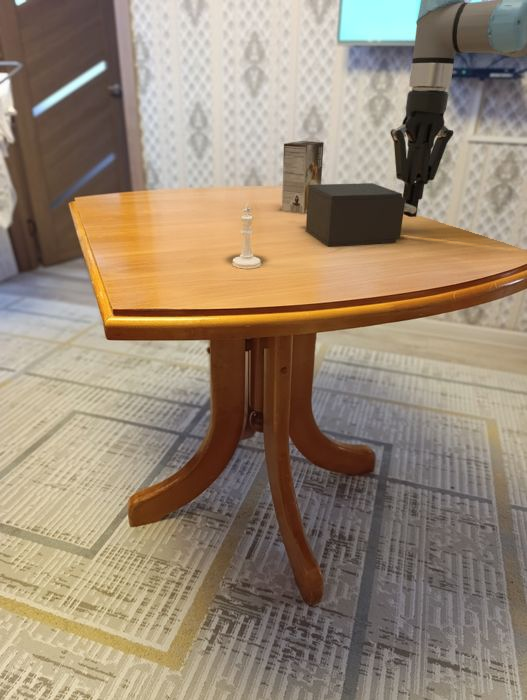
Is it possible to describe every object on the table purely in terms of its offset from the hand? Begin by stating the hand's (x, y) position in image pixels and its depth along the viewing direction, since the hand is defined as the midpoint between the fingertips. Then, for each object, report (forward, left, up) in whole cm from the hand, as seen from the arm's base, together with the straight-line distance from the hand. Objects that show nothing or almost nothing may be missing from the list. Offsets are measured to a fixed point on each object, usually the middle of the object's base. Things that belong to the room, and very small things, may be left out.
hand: (409, 215), depth 107 cm
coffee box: (+28, -9, -4) cm, 30 cm away
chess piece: (+21, +36, -4) cm, 42 cm away
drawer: (+7, +6, -3) cm, 10 cm away
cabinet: (+10, +9, -4) cm, 14 cm away
